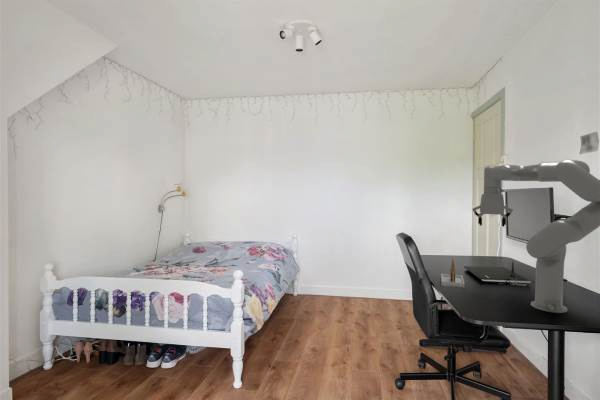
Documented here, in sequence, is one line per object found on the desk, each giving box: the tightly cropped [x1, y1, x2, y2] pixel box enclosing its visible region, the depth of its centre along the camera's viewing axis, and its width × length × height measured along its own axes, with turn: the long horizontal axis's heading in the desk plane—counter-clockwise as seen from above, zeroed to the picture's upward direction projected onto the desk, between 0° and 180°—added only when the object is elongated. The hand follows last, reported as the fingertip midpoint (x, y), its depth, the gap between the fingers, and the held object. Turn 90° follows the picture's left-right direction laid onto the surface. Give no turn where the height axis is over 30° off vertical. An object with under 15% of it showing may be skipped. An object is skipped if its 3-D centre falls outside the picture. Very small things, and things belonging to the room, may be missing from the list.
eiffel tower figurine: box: [499, 261, 528, 287], centre depth 181 cm, size 15×10×13 cm
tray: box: [440, 273, 465, 289], centre depth 181 cm, size 18×11×2 cm, turn 157°
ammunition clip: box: [450, 257, 456, 282], centre depth 180 cm, size 11×2×12 cm, turn 157°
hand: (491, 225), depth 162 cm, fingers open, 9 cm apart
